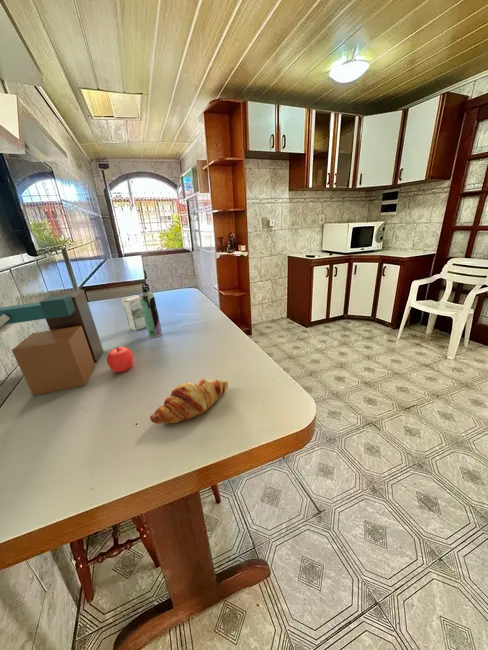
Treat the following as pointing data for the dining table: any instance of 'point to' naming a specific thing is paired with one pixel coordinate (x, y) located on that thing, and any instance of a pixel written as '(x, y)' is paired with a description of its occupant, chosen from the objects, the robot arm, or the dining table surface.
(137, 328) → the syrup box
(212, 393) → the croissant
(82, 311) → the stand
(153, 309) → the spray can
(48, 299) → the teal stepped bar
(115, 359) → the apple
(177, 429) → the dining table surface
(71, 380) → the carton
